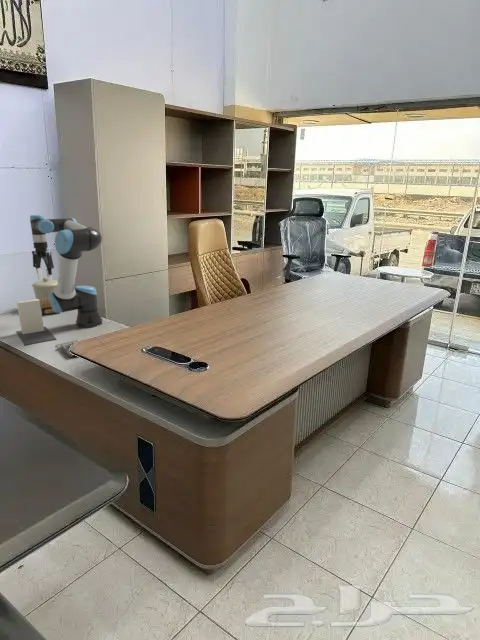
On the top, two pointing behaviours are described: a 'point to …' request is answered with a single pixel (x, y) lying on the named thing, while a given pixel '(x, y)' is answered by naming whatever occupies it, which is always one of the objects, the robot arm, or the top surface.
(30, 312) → the book
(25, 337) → the desk pad
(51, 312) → the ammunition clip
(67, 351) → the graphics card
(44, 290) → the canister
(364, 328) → the top surface
